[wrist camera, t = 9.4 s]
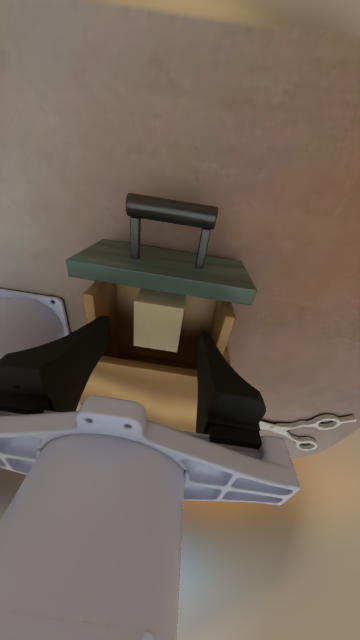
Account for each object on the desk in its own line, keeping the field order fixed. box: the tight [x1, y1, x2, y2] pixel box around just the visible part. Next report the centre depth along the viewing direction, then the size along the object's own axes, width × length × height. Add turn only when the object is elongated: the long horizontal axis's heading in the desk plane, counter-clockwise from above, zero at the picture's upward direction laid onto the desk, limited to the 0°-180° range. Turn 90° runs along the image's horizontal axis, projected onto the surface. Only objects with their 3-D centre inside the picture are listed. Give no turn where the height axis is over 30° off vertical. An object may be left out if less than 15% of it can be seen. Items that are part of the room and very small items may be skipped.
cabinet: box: [80, 345, 231, 433], centre depth 25 cm, size 15×14×8 cm
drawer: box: [66, 193, 257, 370], centre depth 19 cm, size 18×13×6 cm
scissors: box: [259, 414, 357, 450], centre depth 33 cm, size 11×1×20 cm
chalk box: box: [134, 288, 186, 352], centre depth 18 cm, size 4×4×5 cm
